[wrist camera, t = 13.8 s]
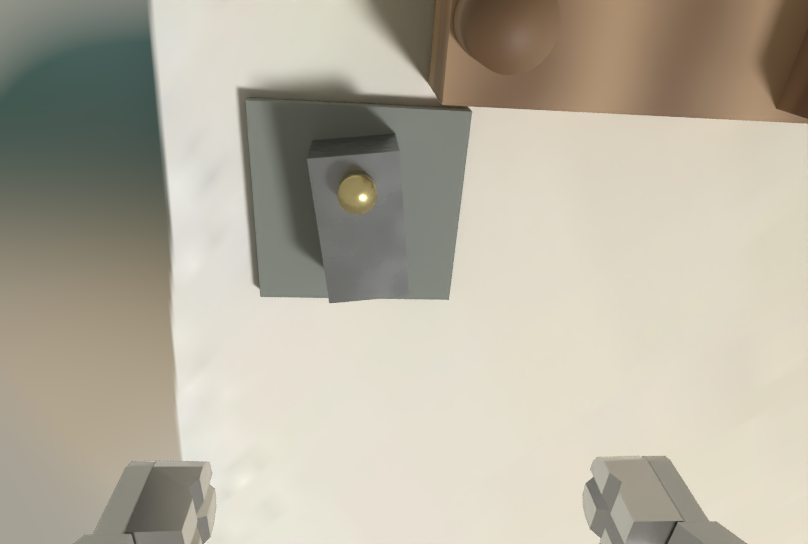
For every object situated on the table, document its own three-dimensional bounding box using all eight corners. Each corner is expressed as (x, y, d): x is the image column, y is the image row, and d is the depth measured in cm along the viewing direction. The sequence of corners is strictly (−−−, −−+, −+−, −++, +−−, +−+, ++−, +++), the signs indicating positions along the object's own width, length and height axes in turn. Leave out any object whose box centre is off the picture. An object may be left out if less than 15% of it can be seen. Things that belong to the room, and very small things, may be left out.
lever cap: (405, 267, 28) (410, 304, 25) (331, 274, 28) (328, 312, 24) (395, 133, 24) (400, 156, 21) (312, 140, 24) (305, 165, 21)
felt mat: (469, 108, 25) (471, 111, 24) (447, 293, 29) (448, 299, 29) (247, 97, 24) (245, 100, 23) (262, 290, 28) (260, 296, 28)
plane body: (857, -40, 23) (1249, -53, 13) (798, 104, 26) (1080, 185, 16) (441, -76, 21) (517, -122, 11) (428, 83, 24) (479, 161, 14)
